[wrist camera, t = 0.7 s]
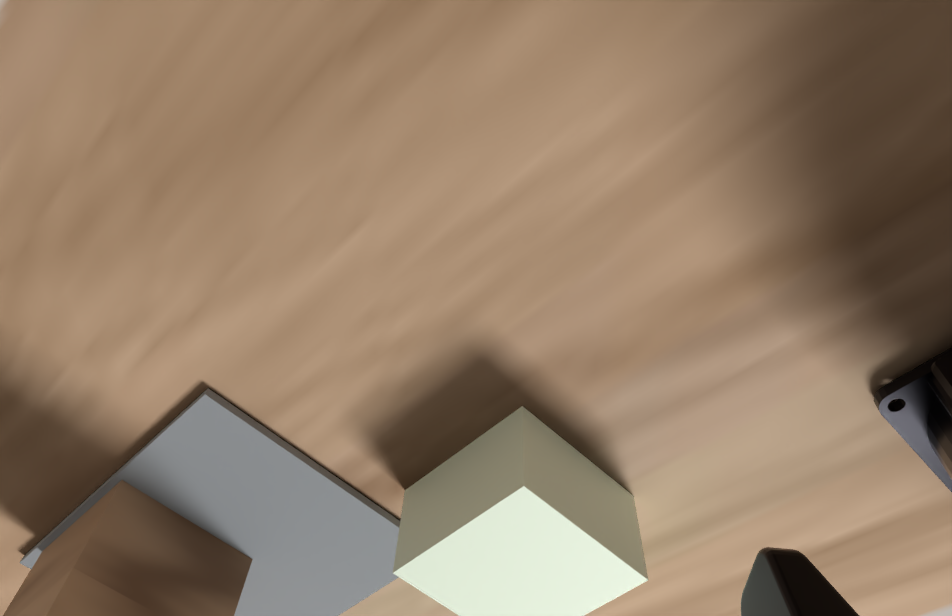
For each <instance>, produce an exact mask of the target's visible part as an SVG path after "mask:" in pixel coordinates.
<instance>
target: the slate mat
mask: <svg viewBox="0 0 952 616" xmlns="http://www.w3.org/2000/svg"><path fill="white" fill-rule="evenodd" d="M121 480H123V481H125V482H127V483H128V484H130V485H131V486H133V487H135V488H136V489H138V490H140V491H141V492H143V493H145V494H146V495H148V496H150V497H151V498H153V499H154V500H156V501H158V502H159V503H161V504H163V505H164V506H166V507H168V508H169V509H171V510H173V511H174V512H176V513H177V514H179V515H181V516H182V517H184V518H186V519H187V520H189V521H191V522H192V523H194V524H195V525H197V526H199V527H200V528H202V529H204V530H205V531H207V532H209V533H210V534H212V535H214V536H215V537H217V538H218V539H220V540H222V541H223V542H225V543H227V544H228V545H230V546H232V547H233V548H235V549H237V550H238V551H240V552H241V553H243V554H245V555H246V556H248V557H250V558H251V559H253V560H252V563H251V566H250V569H249V572H248V575H247V578H246V581H245V584H244V587H243V590H242V593H241V596H240V599H239V602H238V605H237V608H236V611H235V614H234V616H338V615H340V614H341V613H343V612H345V611H346V610H348V609H349V608H351V607H352V606H354V605H356V604H357V603H359V602H360V601H362V600H364V599H365V598H367V597H368V596H370V595H371V594H373V593H375V592H376V591H378V590H379V589H381V588H382V587H384V586H386V585H387V584H389V583H390V582H392V581H393V580H395V579H397V578H398V576H397V575H395V574H393V568H394V561H395V554H396V547H397V541H398V534H399V527H400V521H399V520H398V519H396V518H395V517H393V516H392V515H391V514H389V513H388V512H386V511H385V510H383V509H382V508H380V507H379V506H378V505H376V504H375V503H373V502H372V501H370V500H369V499H367V498H366V497H365V496H363V495H362V494H360V493H359V492H357V491H356V490H354V489H353V488H352V487H350V486H349V485H347V484H346V483H344V482H343V481H341V480H340V479H339V478H337V477H336V476H334V475H333V474H331V473H330V472H328V471H327V470H326V469H324V468H323V467H321V466H320V465H318V464H317V463H315V462H314V461H313V460H311V459H310V458H308V457H307V456H305V455H304V454H302V453H301V452H300V451H298V450H297V449H295V448H294V447H292V446H291V445H289V444H288V443H287V442H285V441H284V440H282V439H281V438H279V437H278V436H276V435H275V434H274V433H272V432H271V431H269V430H268V429H266V428H265V427H263V426H262V425H261V424H259V423H258V422H256V421H255V420H253V419H252V418H250V417H249V416H248V415H246V414H245V413H243V412H242V411H240V410H239V409H237V408H236V407H235V406H233V405H232V404H230V403H229V402H227V401H226V400H224V399H223V398H222V397H220V396H219V395H217V394H216V393H214V392H213V391H211V390H210V389H209V388H208V389H207V390H206V391H204V392H203V393H202V394H201V395H200V396H199V397H198V398H197V399H196V400H195V401H194V402H192V403H191V404H190V405H189V406H188V407H187V408H186V409H185V410H184V411H183V412H181V413H180V414H179V415H178V416H177V417H176V418H175V419H174V420H173V421H172V422H170V423H169V424H168V425H167V426H166V427H165V428H164V429H163V430H162V431H161V432H160V433H158V434H157V435H156V436H155V437H154V438H153V439H152V440H151V441H150V442H149V443H147V444H146V445H145V446H144V447H143V448H142V449H141V450H140V451H139V452H138V453H136V454H135V455H134V456H133V457H132V458H131V459H130V460H129V461H128V462H127V463H126V464H124V465H123V466H122V467H121V468H120V469H119V470H118V471H117V472H116V473H115V474H113V475H112V476H111V477H110V478H109V479H108V480H107V481H106V482H105V483H104V484H103V485H101V486H100V487H99V488H98V489H97V490H96V491H95V492H94V493H93V494H92V495H90V496H89V497H88V498H87V499H86V500H85V501H84V502H83V503H82V504H81V505H79V506H78V507H77V508H76V509H75V510H74V511H73V512H72V513H71V514H70V515H69V516H67V517H66V518H65V519H64V520H63V521H62V522H61V523H60V524H59V525H58V526H56V527H55V528H54V529H53V530H52V531H51V532H50V533H49V534H48V535H47V536H46V537H44V538H43V539H42V540H41V541H40V542H39V543H38V544H37V545H36V546H35V547H33V548H32V549H31V550H30V551H29V552H28V553H27V554H26V555H25V556H24V557H23V558H22V560H21V561H20V563H21V564H22V565H24V566H26V567H28V568H30V569H32V567H33V566H34V564H35V562H36V561H37V559H38V557H39V556H40V554H41V552H42V551H43V550H44V549H45V548H47V547H48V546H49V545H50V544H51V543H52V542H53V541H54V540H55V539H57V538H58V537H59V536H60V535H61V534H62V533H63V532H64V531H65V530H67V529H68V528H69V527H70V526H71V525H72V524H73V523H74V522H75V521H77V520H78V519H79V518H80V517H81V516H82V515H83V514H84V513H85V512H87V511H88V510H89V509H90V508H91V507H92V506H93V505H94V504H95V503H97V502H98V501H99V500H100V499H101V498H102V497H103V496H104V495H105V494H107V493H108V492H109V491H110V490H111V489H112V488H113V487H114V486H115V485H117V484H118V483H119V482H120V481H121Z"/></svg>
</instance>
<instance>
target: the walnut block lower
mask: <svg viewBox="0 0 952 616" xmlns="http://www.w3.org/2000/svg"><path fill="white" fill-rule="evenodd" d="M252 560H253V559H251V558H250V557H248V556H246V555H245V554H243V553H241V552H240V551H238V550H237V549H235V548H233V547H232V546H230V545H228V544H227V543H225V542H223V541H222V540H220V539H218V538H217V537H215V536H214V535H212V534H210V533H209V532H207V531H205V530H204V529H202V528H200V527H199V526H197V525H195V524H194V523H192V522H191V521H189V520H187V519H186V518H184V517H182V516H181V515H179V514H177V513H176V512H174V511H173V510H171V509H169V508H168V507H166V506H164V505H163V504H161V503H159V502H158V501H156V500H154V499H153V498H151V497H150V496H148V495H146V494H145V493H143V492H141V491H140V490H138V489H136V488H135V487H133V486H131V485H130V484H128V483H127V482H125V481H123V480H121V481H120V482H119V483H118V484H117V485H115V486H114V487H113V488H112V489H111V490H110V491H109V492H108V493H107V494H105V495H104V496H103V497H102V498H101V499H100V500H99V501H98V502H97V503H95V504H94V505H93V506H92V507H91V508H90V509H89V510H88V511H87V512H85V513H84V514H83V515H82V516H81V517H80V518H79V519H78V520H77V521H75V522H74V523H73V524H72V525H71V526H70V527H69V528H68V529H67V530H65V531H64V532H63V533H62V534H61V535H60V536H59V537H58V538H57V539H55V540H54V541H53V542H52V543H51V544H50V545H49V546H48V547H47V548H45V549H44V550H43V551H42V552H41V554H40V556H39V557H38V559H37V561H36V562H35V564H34V566H33V567H32V569H31V571H30V572H29V574H28V576H27V577H26V579H25V580H24V582H23V584H22V585H21V587H20V589H19V590H18V592H17V594H16V595H15V597H14V599H13V600H12V602H11V603H10V605H9V607H8V608H7V610H6V612H5V613H4V615H3V616H17V615H18V614H19V613H21V612H22V611H23V610H24V609H25V608H26V607H28V606H29V605H30V604H31V603H32V602H33V601H35V600H36V599H37V598H38V597H39V596H40V595H42V594H43V593H44V592H45V591H46V590H47V589H49V588H50V587H51V586H52V585H53V584H54V583H56V582H57V581H58V580H59V579H60V578H61V577H63V576H64V575H65V574H66V573H67V572H68V571H70V570H71V569H72V568H75V569H76V570H78V571H80V572H82V573H84V574H85V575H87V576H89V577H91V578H93V579H95V580H96V581H98V582H100V583H102V584H104V585H106V586H107V587H109V588H111V589H113V590H115V591H117V592H118V593H120V594H122V595H124V596H126V597H128V598H129V599H131V600H133V601H135V602H137V603H139V604H140V605H142V606H144V607H146V608H148V609H150V610H151V611H153V612H155V613H157V614H159V615H161V616H234V614H235V611H236V608H237V605H238V602H239V599H240V596H241V593H242V590H243V587H244V584H245V581H246V578H247V575H248V572H249V569H250V566H251V563H252Z"/></svg>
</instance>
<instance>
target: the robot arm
mask: <svg viewBox="0 0 952 616" xmlns="http://www.w3.org/2000/svg"><path fill="white" fill-rule="evenodd" d="M894 399H898V400H897V401H895V402H892V403H890V402H891V401H892V400H894ZM874 402H875V405H876V406H877V408H878V410H879V411H880V413H881V415H882V416H883V417H884V418H885V419H886V420H887V421H888V422H889V423H890V424H891V426H892V427H893V428H894V429H895V430H896V431H897V432H898V433H899V434H900V436H901V437H902V438H903V439H904V440H905V441H906V442H907V443H908V444H909V445H910V447H911V448H912V449H913V450H914V451H915V452H916V453H917V454H918V455H919V457H920V458H921V459H922V460H923V461H924V462H925V463H926V464H927V465H928V466H929V468H930V469H931V470H932V471H933V472H934V473H935V474H936V475H937V476H938V478H939V479H940V480H941V481H942V482H943V483H944V484H945V485H946V486H947V487H948V489H949V490H950V491H951V492H952V348H950V349H949V350H947V351H945V352H943V353H942V354H940V355H938V356H936V357H934V358H933V359H931V360H929V361H927V362H926V363H924V364H922V365H920V366H919V367H917V368H915V369H913V370H912V371H910V372H908V373H906V374H905V375H903V376H901V377H899V378H898V379H896V380H894V381H892V382H891V383H889V384H887V385H885V386H884V387H882V388H881V389H879V390H878V391H877V393H876V394H875V396H874ZM741 616H859V615H858V614H857V613H856V612H855V611H854V609H853V608H852V607H851V606H850V605H849V604H848V603H847V602H846V601H845V599H844V598H843V597H842V596H841V595H840V594H839V593H838V592H837V591H836V590H835V588H834V587H833V586H832V585H831V584H830V583H829V582H828V581H827V580H826V578H825V577H824V576H823V575H822V574H821V573H820V572H819V571H818V570H817V568H816V567H815V566H814V565H813V564H812V563H811V562H810V561H809V560H808V559H807V557H806V556H804V555H803V554H802V553H800V552H799V551H797V550H793V549H782V548H770V547H767V548H763V549H761V550H760V551H759V553H758V555H757V557H756V559H755V562H754V564H753V567H752V570H751V572H750V575H749V577H748V580H747V582H746V585H745V588H744V590H743V593H742V599H741Z"/></svg>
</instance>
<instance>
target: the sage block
mask: <svg viewBox="0 0 952 616" xmlns="http://www.w3.org/2000/svg"><path fill="white" fill-rule="evenodd" d="M393 574H395V575H397V576H398V577H400V578H401V579H403V580H404V581H406V582H407V583H409V584H411V585H412V586H414V587H415V588H417V589H418V590H420V591H421V592H423V593H425V594H426V595H428V596H429V597H431V598H432V599H434V600H436V601H437V602H439V603H440V604H442V605H443V606H445V607H446V608H448V609H450V610H451V611H453V612H454V613H456V614H457V615H459V616H584V615H586V614H587V613H589V612H591V611H593V610H595V609H597V608H598V607H600V606H602V605H604V604H606V603H608V602H609V601H611V600H613V599H615V598H617V597H619V596H620V595H622V594H624V593H626V592H628V591H629V590H631V589H633V588H635V587H637V586H639V585H640V584H642V583H644V582H646V581H648V576H647V570H646V564H645V559H644V553H643V547H642V541H641V536H640V530H639V524H638V519H637V513H636V507H635V501H634V496H633V495H632V494H630V493H629V492H628V491H627V490H625V489H624V488H623V487H622V486H621V485H619V484H618V483H617V482H616V481H614V480H613V479H612V478H611V477H609V476H608V475H607V474H606V473H604V472H603V471H602V470H601V469H599V468H598V467H597V466H596V465H595V464H593V463H592V462H591V461H590V460H588V459H587V458H586V457H585V456H583V455H582V454H581V453H580V452H578V451H577V450H576V449H575V448H574V447H572V446H571V445H570V444H569V443H567V442H566V441H565V440H564V439H562V438H561V437H560V436H559V435H557V434H556V433H555V432H554V431H553V430H551V429H550V428H549V427H548V426H546V425H545V424H544V423H543V422H541V421H540V420H539V419H538V418H536V417H535V416H534V415H533V414H532V413H530V412H529V411H528V410H527V409H525V408H524V407H523V406H521V407H520V408H519V409H517V410H516V411H514V412H513V413H512V414H510V415H509V416H508V417H506V418H505V419H503V420H502V421H501V422H499V423H498V424H496V425H495V426H494V427H492V428H491V429H489V430H488V431H487V432H485V433H484V434H483V435H481V436H480V437H478V438H477V439H476V440H474V441H473V442H471V443H470V444H469V445H467V446H466V447H464V448H463V449H462V450H460V451H459V452H457V453H456V454H455V455H453V456H452V457H451V458H449V459H448V460H446V461H445V462H444V463H442V464H441V465H439V466H438V467H437V468H435V469H434V470H432V471H431V472H430V473H428V474H427V475H426V476H424V477H423V478H421V479H420V480H419V481H417V482H416V483H414V484H413V485H412V486H410V487H409V488H407V489H406V490H405V493H404V500H403V507H402V514H401V520H400V527H399V534H398V541H397V547H396V554H395V561H394V568H393Z"/></svg>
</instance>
